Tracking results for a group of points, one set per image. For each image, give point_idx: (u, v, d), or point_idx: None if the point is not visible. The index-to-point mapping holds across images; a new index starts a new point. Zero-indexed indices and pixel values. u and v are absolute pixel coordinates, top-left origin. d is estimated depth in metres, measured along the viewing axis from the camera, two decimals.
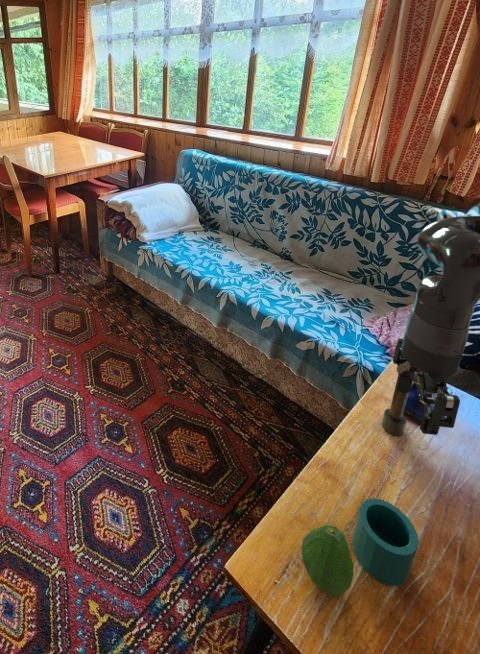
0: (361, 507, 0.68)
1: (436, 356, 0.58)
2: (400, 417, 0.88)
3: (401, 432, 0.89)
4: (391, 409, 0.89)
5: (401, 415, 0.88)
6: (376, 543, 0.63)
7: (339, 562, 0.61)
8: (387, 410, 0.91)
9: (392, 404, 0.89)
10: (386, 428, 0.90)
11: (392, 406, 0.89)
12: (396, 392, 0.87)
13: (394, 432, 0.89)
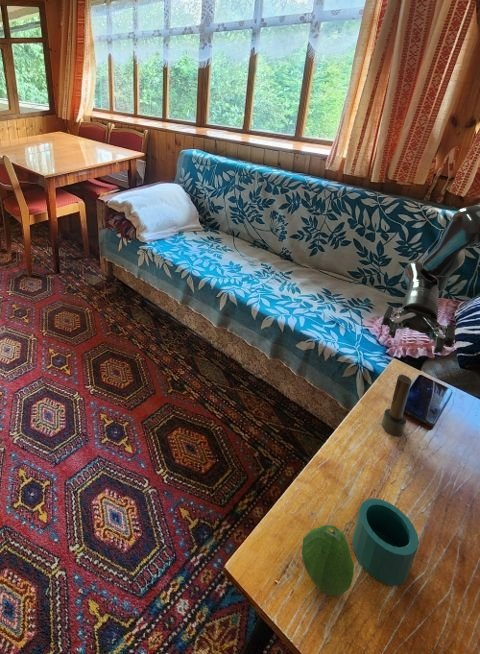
0: (361, 507, 0.68)
1: None
2: (400, 417, 0.88)
3: (401, 432, 0.89)
4: (391, 409, 0.89)
5: (401, 415, 0.88)
6: (376, 543, 0.63)
7: (339, 562, 0.61)
8: (387, 410, 0.91)
9: (392, 404, 0.89)
10: (386, 428, 0.90)
11: (392, 406, 0.89)
12: (396, 392, 0.87)
13: (394, 432, 0.89)
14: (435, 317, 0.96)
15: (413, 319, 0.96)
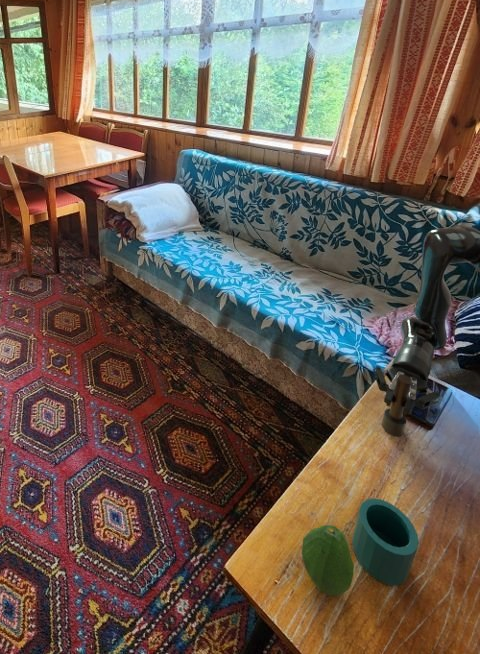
0: (361, 507, 0.68)
1: None
2: (400, 417, 0.88)
3: (401, 432, 0.89)
4: (391, 409, 0.89)
5: (401, 415, 0.88)
6: (376, 543, 0.63)
7: (339, 562, 0.61)
8: (387, 410, 0.91)
9: (392, 404, 0.89)
10: (386, 428, 0.90)
11: (392, 406, 0.89)
12: (396, 392, 0.87)
13: (394, 432, 0.89)
14: (425, 379, 0.91)
15: None
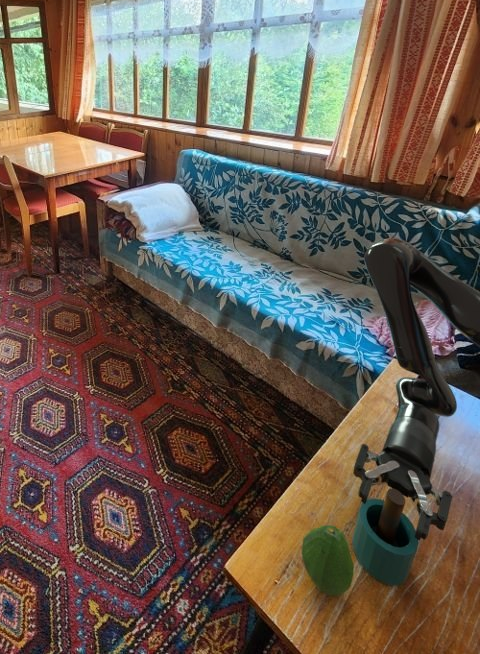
0: (361, 507, 0.68)
1: None
2: (391, 543, 0.65)
3: None
4: (378, 531, 0.66)
5: (391, 541, 0.65)
6: (376, 543, 0.63)
7: (339, 562, 0.61)
8: (373, 528, 0.68)
9: (379, 525, 0.66)
10: None
11: (379, 528, 0.66)
12: (385, 512, 0.64)
13: None
14: (427, 473, 0.67)
15: (394, 471, 0.68)
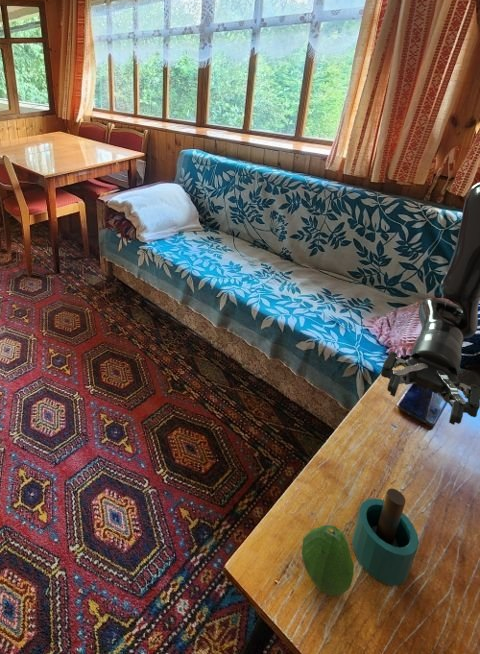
0: (361, 507, 0.68)
1: None
2: (391, 543, 0.65)
3: None
4: (378, 531, 0.66)
5: (391, 541, 0.65)
6: (376, 543, 0.63)
7: (339, 562, 0.61)
8: (373, 528, 0.68)
9: (379, 525, 0.66)
10: None
11: (379, 528, 0.66)
12: (385, 512, 0.64)
13: None
14: (455, 372, 0.71)
15: (423, 372, 0.71)
